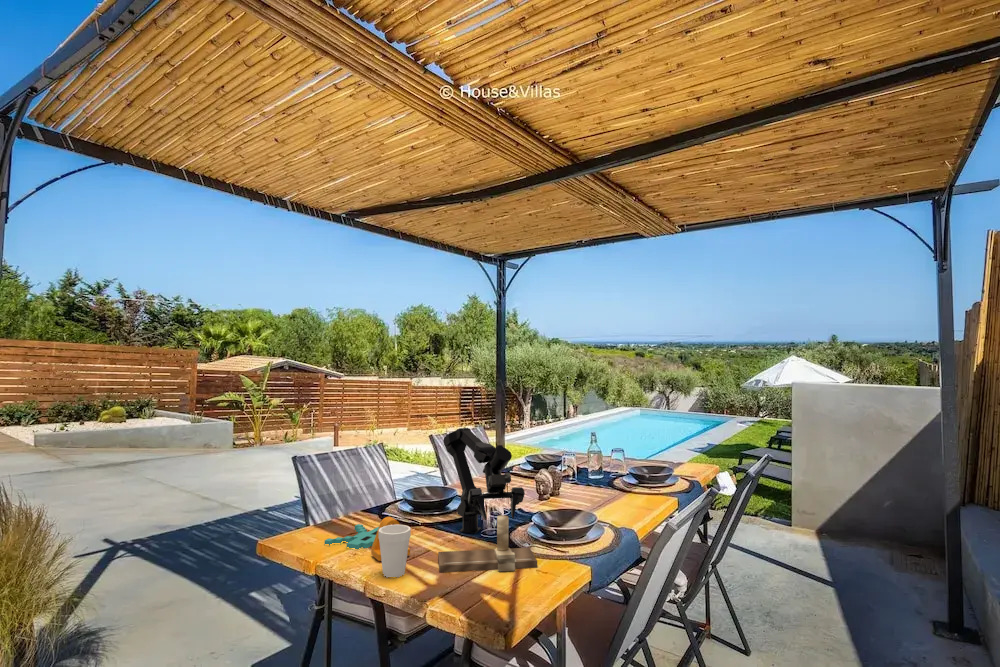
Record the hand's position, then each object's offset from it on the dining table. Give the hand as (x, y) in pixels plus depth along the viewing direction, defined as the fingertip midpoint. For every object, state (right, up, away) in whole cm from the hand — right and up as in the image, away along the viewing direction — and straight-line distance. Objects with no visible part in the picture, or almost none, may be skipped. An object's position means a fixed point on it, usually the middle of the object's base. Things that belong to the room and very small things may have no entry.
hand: (499, 518), depth 174 cm
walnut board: (-4, -11, -7) cm, 14 cm away
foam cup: (-31, -11, -16) cm, 37 cm away
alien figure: (-48, -13, +15) cm, 52 cm away
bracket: (-35, -12, -2) cm, 37 cm away
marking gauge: (+1, -11, -9) cm, 14 cm away
